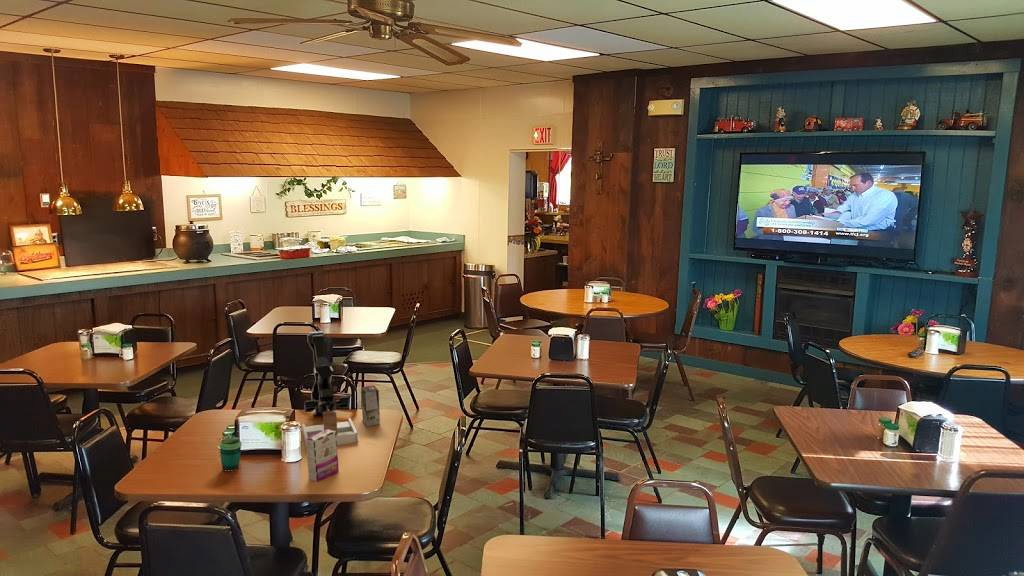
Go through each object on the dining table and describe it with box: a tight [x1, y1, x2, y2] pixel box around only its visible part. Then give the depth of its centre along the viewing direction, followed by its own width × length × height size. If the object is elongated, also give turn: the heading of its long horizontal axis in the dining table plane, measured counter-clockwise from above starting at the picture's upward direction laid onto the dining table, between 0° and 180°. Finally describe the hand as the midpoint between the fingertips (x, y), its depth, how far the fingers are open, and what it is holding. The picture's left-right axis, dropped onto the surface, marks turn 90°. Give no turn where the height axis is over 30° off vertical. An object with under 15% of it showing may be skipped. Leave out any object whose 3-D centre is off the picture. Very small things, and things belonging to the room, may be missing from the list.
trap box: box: [301, 417, 359, 446], centre depth 312 cm, size 21×21×4 cm
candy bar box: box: [305, 429, 340, 483], centre depth 272 cm, size 11×5×16 cm, turn 148°
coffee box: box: [360, 385, 381, 427], centre depth 330 cm, size 9×6×16 cm
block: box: [322, 410, 338, 435], centre depth 307 cm, size 5×5×10 cm
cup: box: [218, 436, 243, 471], centre depth 279 cm, size 8×8×12 cm
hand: (329, 421), depth 310 cm, fingers closed
